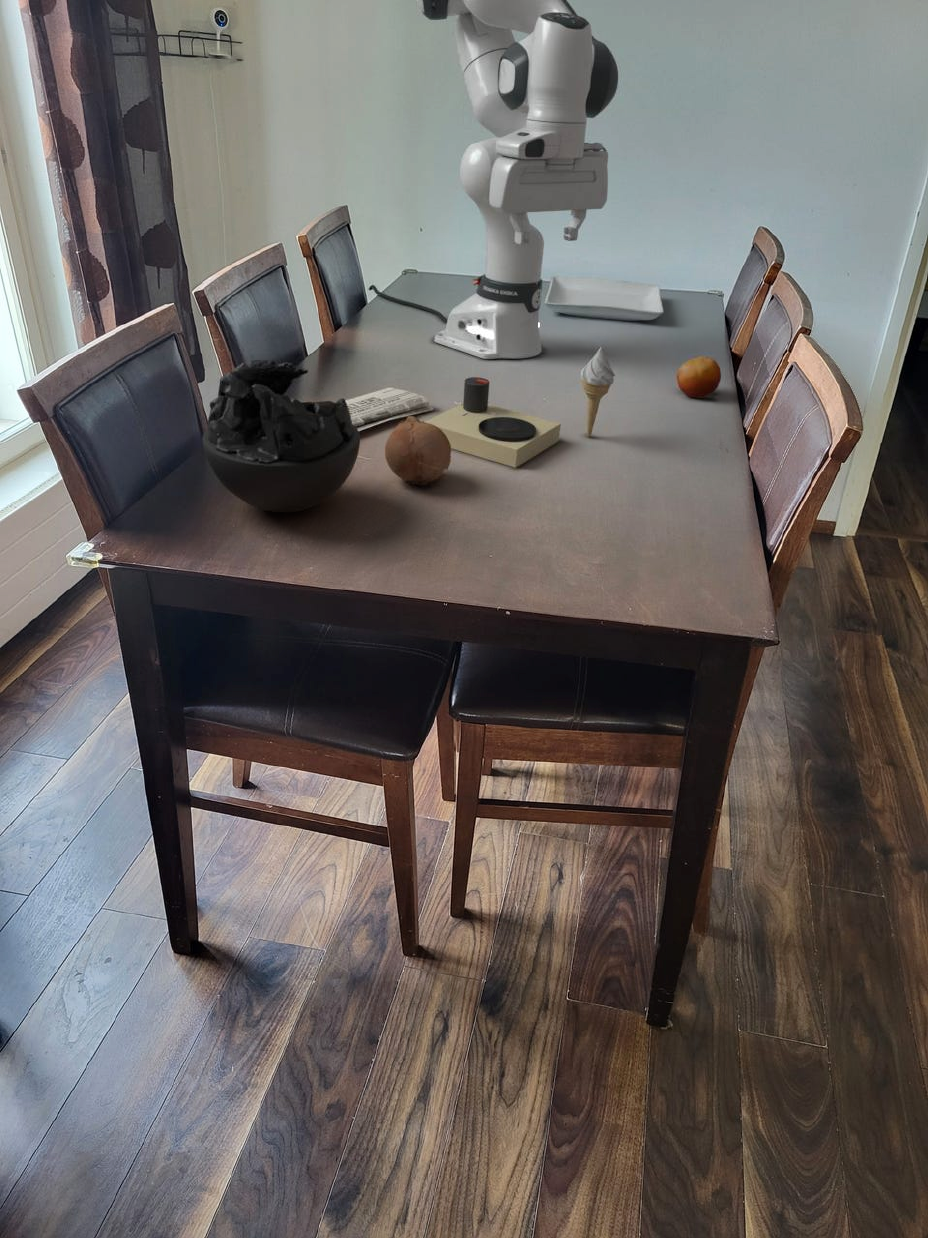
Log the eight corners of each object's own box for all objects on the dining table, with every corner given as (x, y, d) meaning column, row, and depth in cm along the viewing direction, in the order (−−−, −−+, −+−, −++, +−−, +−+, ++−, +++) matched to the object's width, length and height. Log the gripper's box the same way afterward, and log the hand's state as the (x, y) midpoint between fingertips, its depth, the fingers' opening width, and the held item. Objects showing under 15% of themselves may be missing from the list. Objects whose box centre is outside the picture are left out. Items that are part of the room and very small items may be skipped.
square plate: (549, 289, 237) (551, 273, 235) (657, 299, 235) (660, 283, 233) (542, 316, 214) (544, 299, 212) (661, 327, 212) (664, 310, 210)
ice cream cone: (569, 430, 154) (580, 339, 146) (602, 430, 155) (615, 341, 147) (575, 443, 150) (587, 350, 142) (609, 443, 150) (623, 351, 142)
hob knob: (458, 408, 151) (460, 379, 148) (471, 402, 154) (473, 373, 151) (479, 414, 149) (481, 385, 147) (492, 408, 152) (494, 378, 150)
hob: (417, 438, 148) (418, 419, 146) (466, 413, 158) (467, 395, 156) (515, 468, 140) (517, 448, 138) (560, 440, 150) (562, 421, 149)
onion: (399, 489, 138) (385, 422, 136) (460, 478, 137) (447, 409, 135) (386, 493, 129) (371, 421, 127) (452, 481, 127) (438, 407, 126)
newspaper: (338, 445, 143) (337, 429, 142) (289, 429, 151) (287, 414, 149) (439, 411, 158) (439, 396, 157) (390, 398, 165) (389, 384, 164)
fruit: (729, 397, 169) (714, 357, 166) (687, 414, 172) (671, 375, 169) (727, 383, 175) (713, 344, 172) (687, 400, 179) (672, 362, 175)
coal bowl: (284, 462, 137) (277, 334, 126) (390, 501, 128) (392, 366, 117) (177, 507, 122) (159, 367, 112) (288, 555, 113) (280, 407, 103)
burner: (467, 431, 143) (467, 427, 143) (497, 416, 149) (497, 412, 149) (517, 446, 139) (518, 442, 139) (546, 429, 146) (546, 425, 145)
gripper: (596, 140, 145) (586, 234, 152) (486, 140, 135) (481, 241, 143) (622, 144, 140) (610, 241, 148) (510, 145, 131) (504, 248, 138)
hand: (546, 241), depth 145 cm, fingers open, 8 cm apart
